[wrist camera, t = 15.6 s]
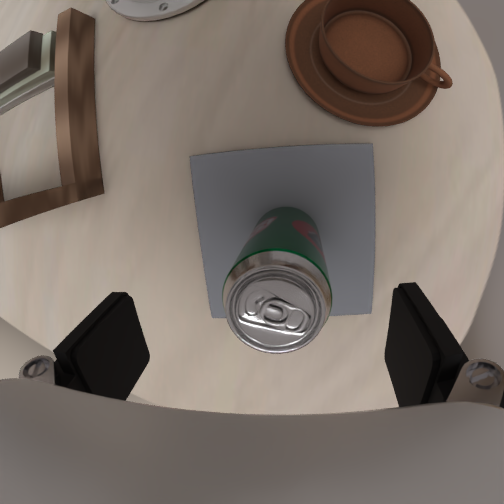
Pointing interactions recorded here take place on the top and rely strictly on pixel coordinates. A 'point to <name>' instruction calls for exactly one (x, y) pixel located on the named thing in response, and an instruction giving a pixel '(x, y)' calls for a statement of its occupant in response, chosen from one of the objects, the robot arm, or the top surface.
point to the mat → (291, 195)
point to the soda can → (279, 284)
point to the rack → (57, 108)
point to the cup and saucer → (365, 59)
